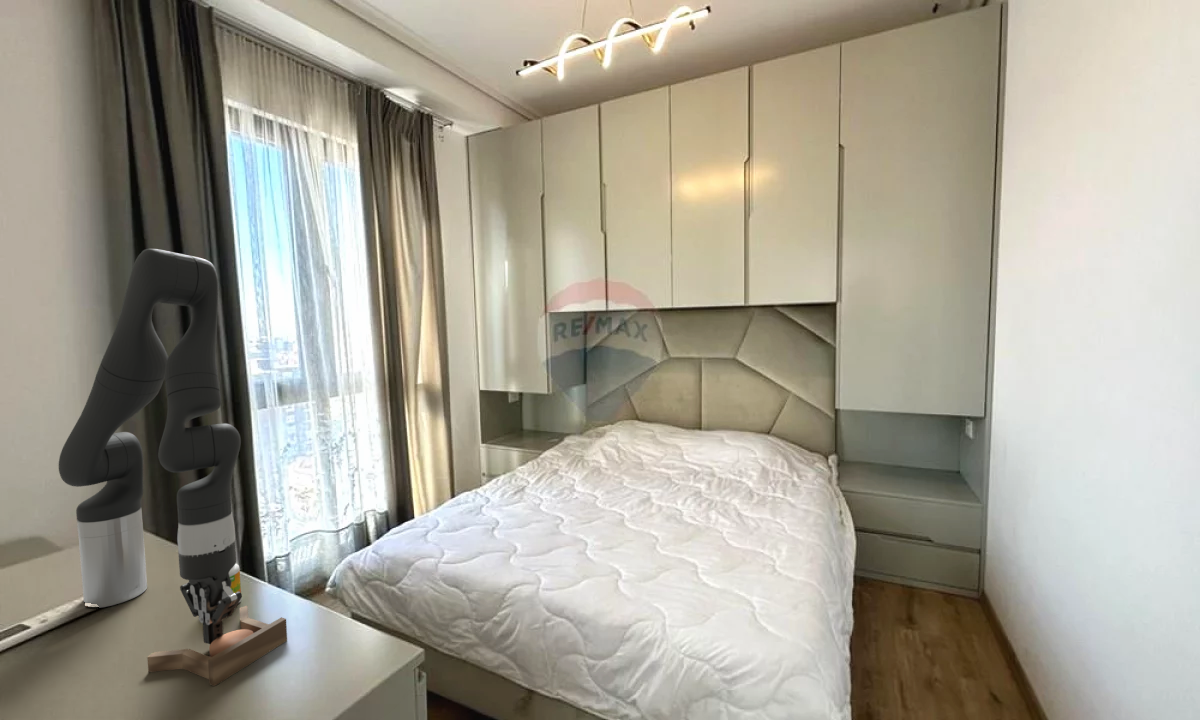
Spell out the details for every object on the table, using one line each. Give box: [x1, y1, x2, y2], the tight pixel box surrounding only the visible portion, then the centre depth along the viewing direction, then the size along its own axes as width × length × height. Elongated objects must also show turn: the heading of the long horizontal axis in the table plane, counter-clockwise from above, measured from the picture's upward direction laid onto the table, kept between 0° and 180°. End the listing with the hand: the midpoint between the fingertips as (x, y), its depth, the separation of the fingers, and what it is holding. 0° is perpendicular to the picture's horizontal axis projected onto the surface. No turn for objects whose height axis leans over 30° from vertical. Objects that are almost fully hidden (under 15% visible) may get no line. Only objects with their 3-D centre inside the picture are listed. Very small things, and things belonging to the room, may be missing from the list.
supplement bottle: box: [229, 563, 242, 603], centre depth 97 cm, size 5×5×10 cm
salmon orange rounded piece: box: [208, 628, 253, 657], centre depth 83 cm, size 6×6×2 cm
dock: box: [146, 605, 288, 687], centre depth 83 cm, size 14×15×4 cm
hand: (213, 641), depth 84 cm, fingers closed
